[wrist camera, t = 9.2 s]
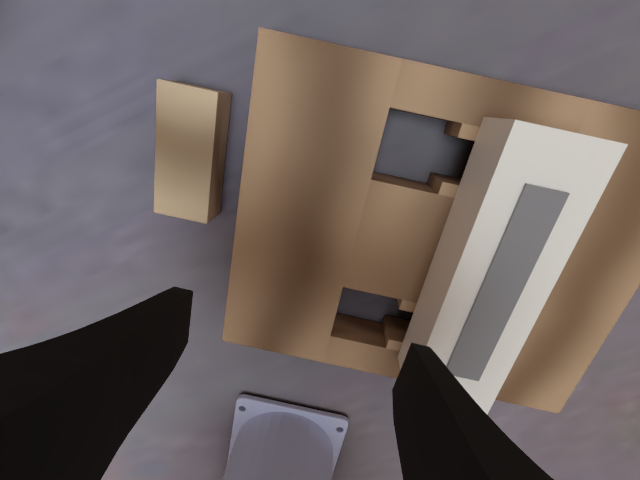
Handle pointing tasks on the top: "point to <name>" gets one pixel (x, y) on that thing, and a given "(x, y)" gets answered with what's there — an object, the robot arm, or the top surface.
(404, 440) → the robot arm
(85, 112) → the top surface
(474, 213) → the white rectangular block
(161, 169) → the block
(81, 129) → the top surface
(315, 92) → the keyhole board
